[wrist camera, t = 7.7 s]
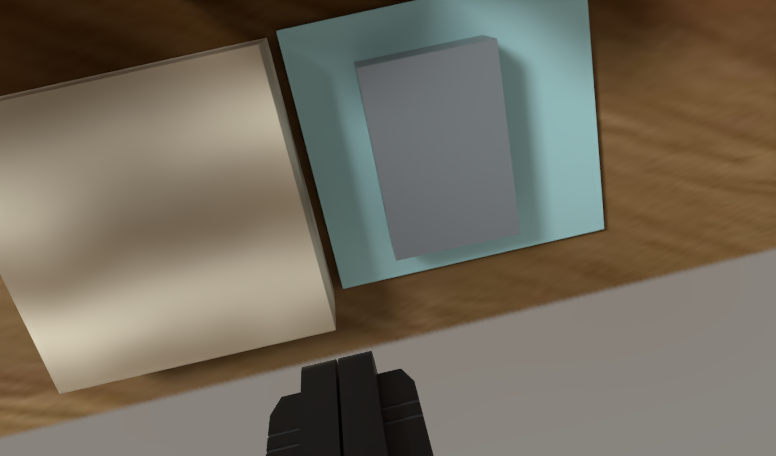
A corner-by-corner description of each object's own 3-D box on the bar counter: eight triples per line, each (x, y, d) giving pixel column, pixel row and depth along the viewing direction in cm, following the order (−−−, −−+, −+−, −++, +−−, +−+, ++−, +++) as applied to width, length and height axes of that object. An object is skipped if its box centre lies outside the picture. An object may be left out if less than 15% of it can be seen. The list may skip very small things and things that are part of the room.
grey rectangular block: (496, 38, 25) (482, 35, 28) (356, 68, 25) (353, 62, 27) (520, 233, 29) (505, 216, 31) (396, 260, 29) (390, 241, 31)
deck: (-22, 101, 27) (-77, 118, 23) (266, 37, 27) (258, 44, 23) (90, 347, 32) (59, 393, 28) (334, 290, 32) (336, 329, 28)
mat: (276, 30, 27) (276, 31, 27) (581, -37, 27) (584, -37, 27) (342, 285, 32) (342, 288, 31) (601, 226, 32) (604, 228, 32)
